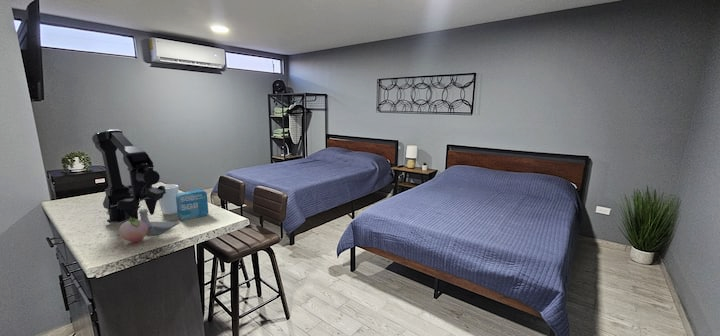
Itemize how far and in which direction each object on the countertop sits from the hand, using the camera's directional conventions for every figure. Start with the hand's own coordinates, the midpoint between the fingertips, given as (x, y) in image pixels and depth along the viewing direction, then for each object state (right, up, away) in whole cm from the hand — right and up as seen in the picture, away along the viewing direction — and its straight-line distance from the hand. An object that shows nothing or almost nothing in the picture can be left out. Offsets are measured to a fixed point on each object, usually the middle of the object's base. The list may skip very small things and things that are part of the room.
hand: (144, 218), depth 125 cm
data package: (+12, -2, +16) cm, 20 cm away
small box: (-33, +1, +30) cm, 44 cm away
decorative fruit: (+6, -7, -13) cm, 16 cm away
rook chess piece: (0, -4, +1) cm, 4 cm away
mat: (+2, -5, +1) cm, 5 cm away
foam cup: (-3, -1, +22) cm, 22 cm away
